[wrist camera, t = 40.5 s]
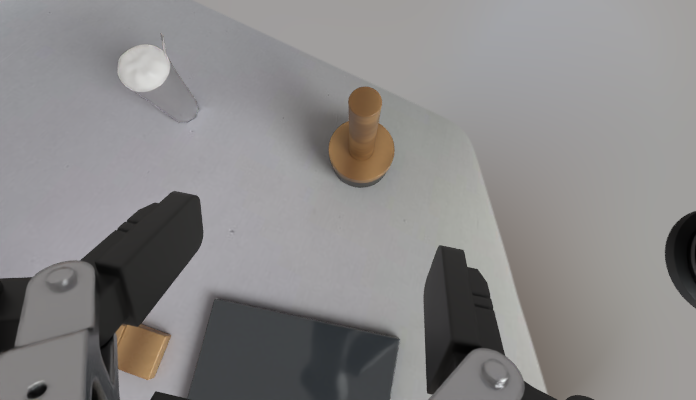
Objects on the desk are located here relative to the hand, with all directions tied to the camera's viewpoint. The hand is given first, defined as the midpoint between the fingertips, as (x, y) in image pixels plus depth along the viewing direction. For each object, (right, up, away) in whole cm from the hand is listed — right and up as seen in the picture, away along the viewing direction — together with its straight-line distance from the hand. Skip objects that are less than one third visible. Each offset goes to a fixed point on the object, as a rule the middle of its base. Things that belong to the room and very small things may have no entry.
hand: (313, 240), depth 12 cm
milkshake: (-17, +12, +28) cm, 35 cm away
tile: (-4, -15, +22) cm, 27 cm away
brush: (+3, +6, +27) cm, 27 cm away
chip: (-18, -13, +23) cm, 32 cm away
